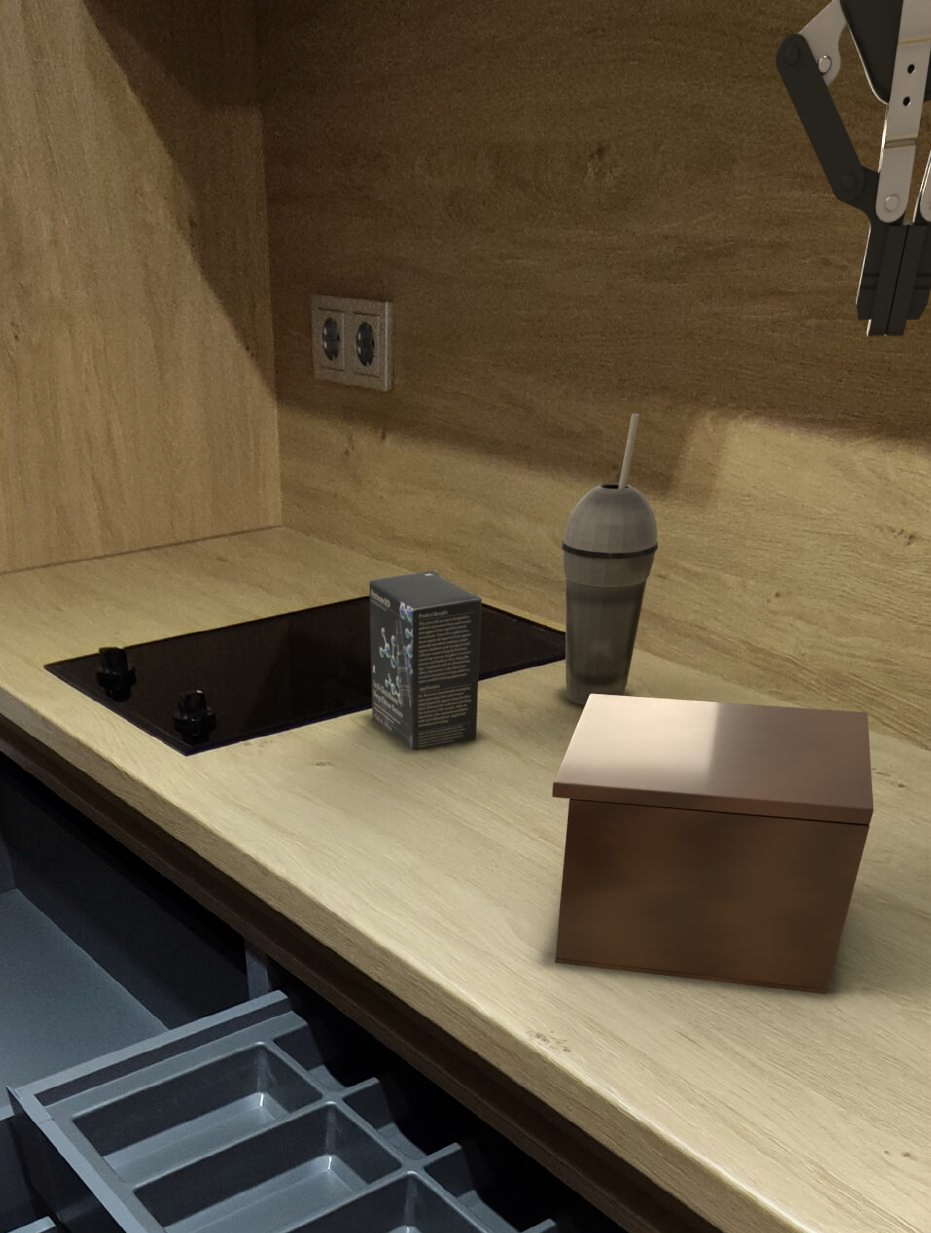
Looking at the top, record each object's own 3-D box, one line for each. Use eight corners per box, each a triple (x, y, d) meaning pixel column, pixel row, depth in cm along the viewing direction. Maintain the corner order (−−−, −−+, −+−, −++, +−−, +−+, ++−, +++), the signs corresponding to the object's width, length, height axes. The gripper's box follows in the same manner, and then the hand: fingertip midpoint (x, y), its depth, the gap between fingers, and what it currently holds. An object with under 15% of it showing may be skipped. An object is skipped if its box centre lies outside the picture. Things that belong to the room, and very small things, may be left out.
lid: (551, 797, 63) (552, 782, 62) (588, 707, 73) (589, 693, 72) (869, 825, 60) (874, 809, 59) (864, 726, 69) (868, 711, 69)
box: (370, 725, 99) (367, 579, 92) (434, 713, 100) (436, 569, 93) (411, 758, 93) (411, 606, 86) (478, 746, 95) (484, 595, 88)
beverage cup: (588, 682, 105) (614, 400, 92) (657, 702, 101) (695, 410, 88) (531, 703, 102) (549, 413, 88) (600, 725, 98) (630, 424, 84)
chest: (553, 971, 69) (569, 799, 63) (587, 866, 79) (604, 708, 73) (824, 1002, 66) (869, 826, 60) (825, 890, 76) (864, 727, 70)
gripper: (810, -311, 40) (721, 346, 52) (1265, -357, 37) (1062, 348, 49) (813, -262, 45) (732, 323, 57) (1212, -299, 43) (1040, 324, 54)
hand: (885, 334), depth 53 cm, fingers closed
